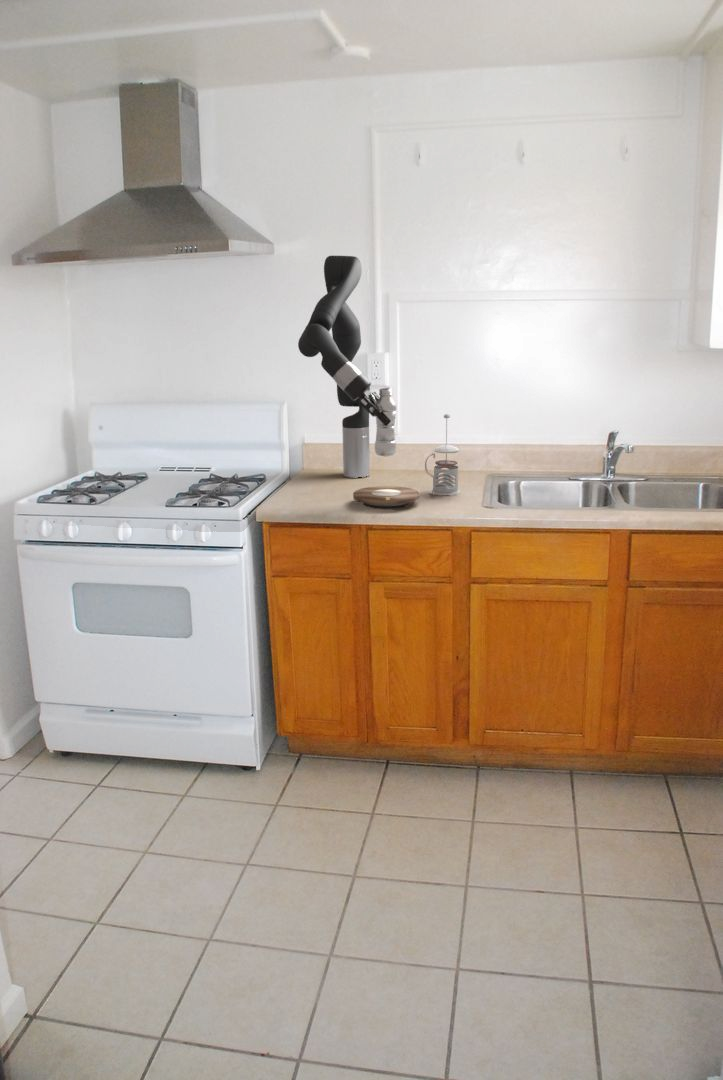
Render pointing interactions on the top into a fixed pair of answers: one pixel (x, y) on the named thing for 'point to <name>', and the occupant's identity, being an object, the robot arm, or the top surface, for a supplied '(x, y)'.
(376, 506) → the turntable base
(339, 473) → the top surface
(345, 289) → the robot arm
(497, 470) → the top surface
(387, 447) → the plastic bottle
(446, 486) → the french press
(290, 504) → the top surface
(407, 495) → the turntable platter
